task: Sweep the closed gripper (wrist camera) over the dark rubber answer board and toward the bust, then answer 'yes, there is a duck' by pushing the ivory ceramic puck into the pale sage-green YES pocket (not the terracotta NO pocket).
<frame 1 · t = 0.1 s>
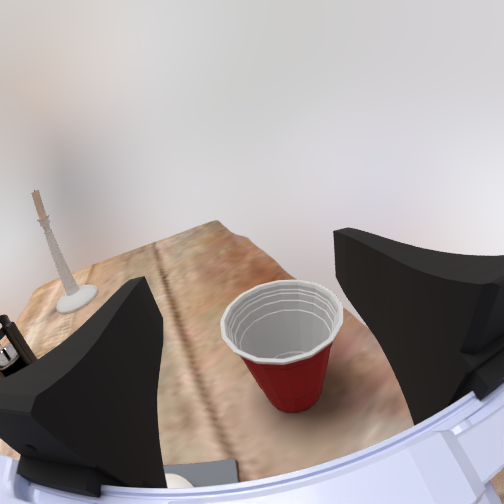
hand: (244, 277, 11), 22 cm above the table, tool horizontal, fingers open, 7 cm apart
candlestick: (77, 300, 63), on the table
plastic cup: (296, 395, 29), on the table
french press: (27, 381, 36), on the table
puck: (176, 501, 18), point 1 cm above the table, touching mat
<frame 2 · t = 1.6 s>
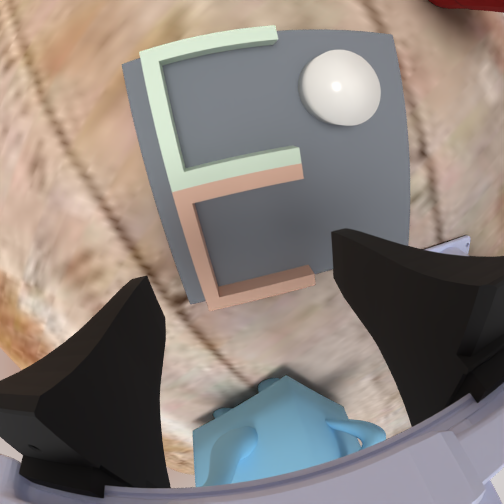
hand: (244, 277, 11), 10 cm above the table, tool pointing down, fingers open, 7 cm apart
teakettle: (260, 412, 31), on the table
mat: (292, 158, 19), on the table
no pocket: (247, 231, 21), resting on mat
yes pocket: (220, 104, 16), resting on mat
puck: (333, 89, 16), point 1 cm above the table, touching mat
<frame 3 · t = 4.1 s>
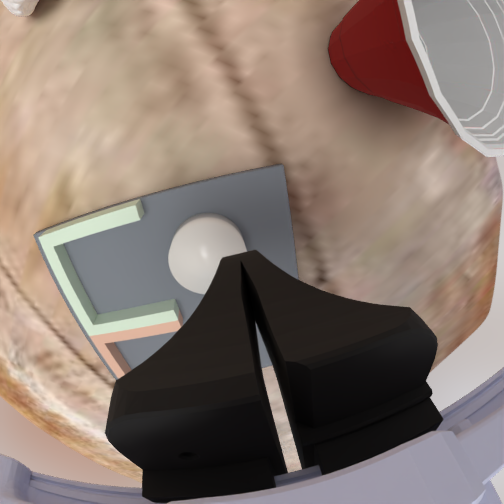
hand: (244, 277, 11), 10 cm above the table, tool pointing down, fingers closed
mat: (179, 304, 22), on the table
plastic cup: (363, 59, 16), on the table
no pocket: (154, 351, 24), resting on mat
yes pocket: (112, 267, 20), resting on mat
puck: (207, 247, 20), point 1 cm above the table, touching mat
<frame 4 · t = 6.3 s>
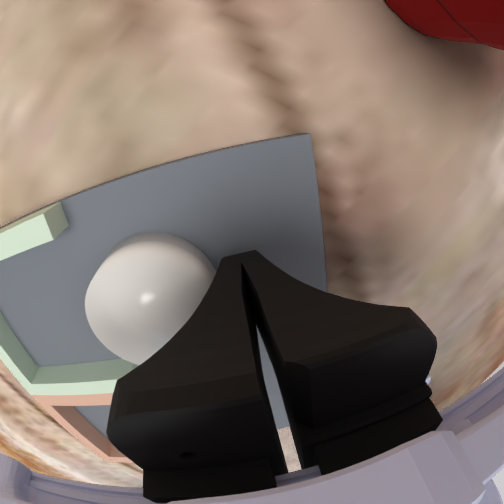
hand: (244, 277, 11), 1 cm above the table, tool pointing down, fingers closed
mat: (144, 361, 14), on the table
no pocket: (121, 411, 15), resting on mat
yes pocket: (44, 306, 11), resting on mat
puck: (157, 289, 11), point 1 cm above the table, touching gripper, mat
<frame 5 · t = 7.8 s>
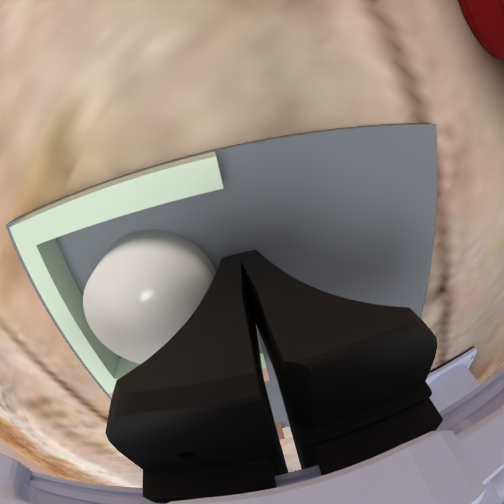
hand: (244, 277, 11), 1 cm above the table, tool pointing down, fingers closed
mat: (258, 338, 14), on the table
plastic cup: (485, 20, 8), on the table
yes pocket: (147, 281, 12), resting on mat
puck: (156, 287, 11), point 1 cm above the table, touching mat
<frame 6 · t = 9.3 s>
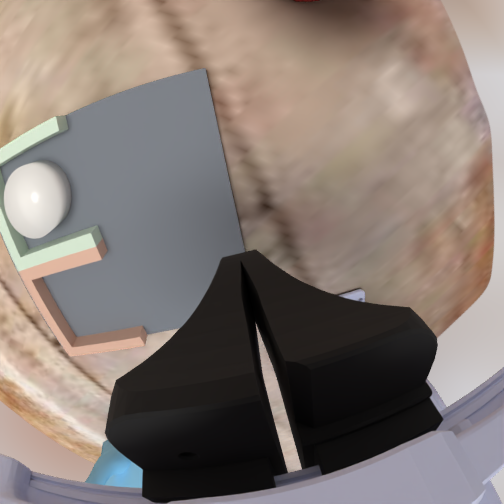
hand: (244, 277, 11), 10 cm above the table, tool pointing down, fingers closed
teakettle: (161, 435, 31), on the table
mat: (105, 234, 19), on the table
no pocket: (86, 296, 20), resting on mat
yes pocket: (42, 193, 16), resting on mat
puck: (43, 194, 16), point 1 cm above the table, touching mat
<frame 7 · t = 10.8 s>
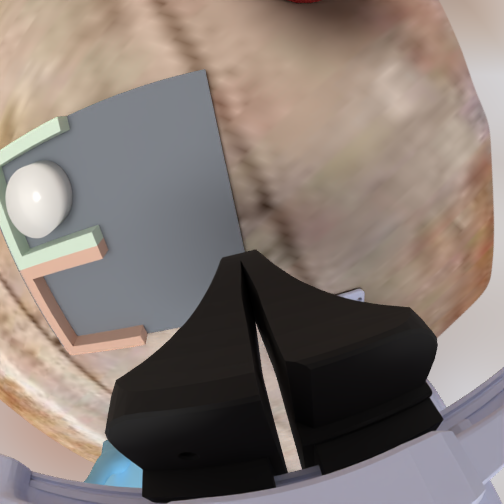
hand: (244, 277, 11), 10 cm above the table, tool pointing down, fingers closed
teakettle: (161, 435, 31), on the table
mat: (105, 234, 19), on the table
no pocket: (87, 295, 21), resting on mat
yes pocket: (44, 193, 17), resting on mat
puck: (44, 194, 16), point 1 cm above the table, touching mat
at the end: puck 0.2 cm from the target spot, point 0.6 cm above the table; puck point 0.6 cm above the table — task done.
